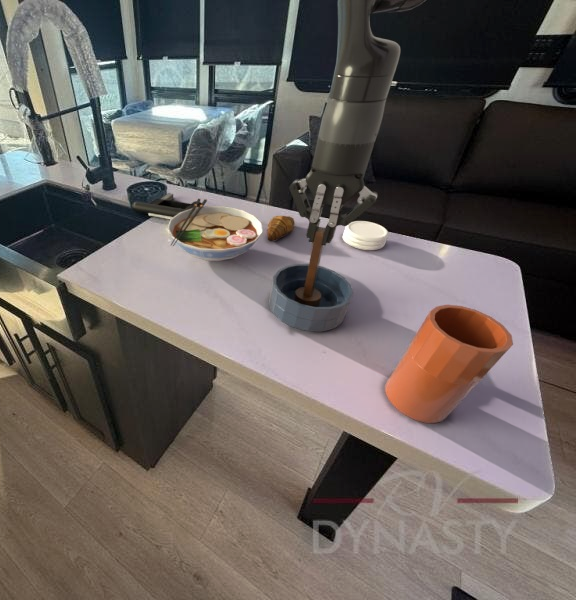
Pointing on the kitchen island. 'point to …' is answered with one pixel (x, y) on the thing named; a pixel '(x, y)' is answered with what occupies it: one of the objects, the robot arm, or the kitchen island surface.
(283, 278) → the bowl
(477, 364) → the crock
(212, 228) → the ramen bowl
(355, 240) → the coaster
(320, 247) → the brown wooden masher
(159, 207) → the door handle
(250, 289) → the kitchen island surface
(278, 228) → the croissant
